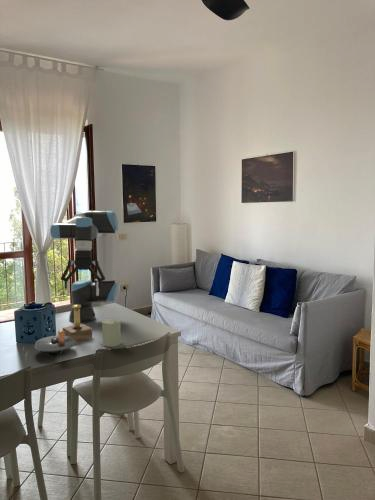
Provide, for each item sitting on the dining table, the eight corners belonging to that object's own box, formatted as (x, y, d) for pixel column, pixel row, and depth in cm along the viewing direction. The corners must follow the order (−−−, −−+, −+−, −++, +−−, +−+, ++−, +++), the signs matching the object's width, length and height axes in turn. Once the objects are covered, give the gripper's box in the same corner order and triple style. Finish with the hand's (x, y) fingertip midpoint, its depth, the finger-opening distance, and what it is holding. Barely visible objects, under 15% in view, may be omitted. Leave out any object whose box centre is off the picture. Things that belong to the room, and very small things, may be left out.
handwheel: (28, 344, 192) (28, 326, 191) (65, 335, 203) (64, 319, 202) (44, 355, 178) (43, 336, 177) (82, 345, 190) (81, 328, 189)
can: (112, 348, 197) (111, 323, 195) (98, 344, 202) (97, 320, 200) (124, 342, 204) (124, 319, 203) (111, 339, 209) (110, 316, 208)
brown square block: (62, 336, 212) (62, 327, 211) (82, 332, 219) (82, 323, 218) (72, 342, 204) (72, 332, 203) (92, 337, 211) (92, 328, 210)
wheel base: (46, 351, 191) (46, 345, 191) (59, 348, 195) (58, 342, 195) (52, 355, 187) (51, 348, 187) (64, 352, 191) (64, 345, 191)
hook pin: (71, 337, 211) (70, 305, 209) (79, 335, 214) (78, 303, 212) (75, 339, 208) (74, 307, 206) (83, 337, 211) (82, 305, 209)
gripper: (54, 249, 187) (53, 296, 186) (109, 250, 189) (108, 296, 188) (58, 250, 194) (57, 294, 194) (111, 250, 196) (110, 294, 195)
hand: (82, 295), depth 191 cm, fingers open, 13 cm apart
